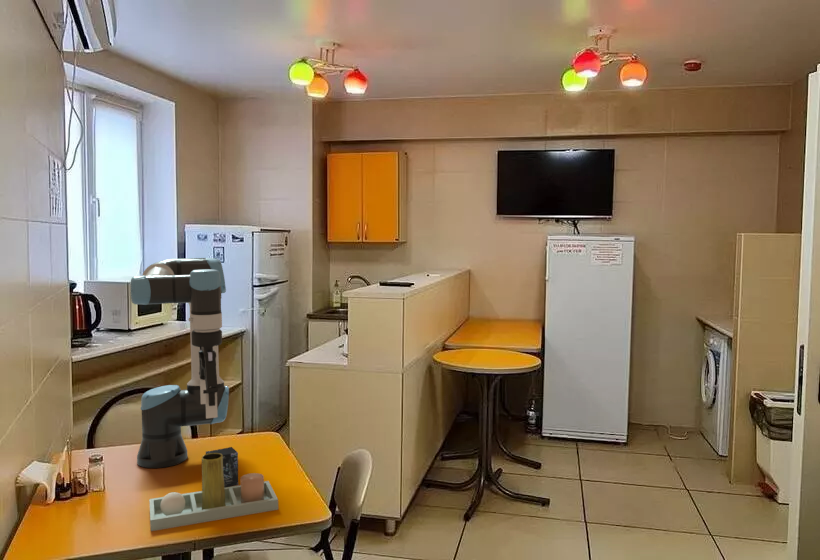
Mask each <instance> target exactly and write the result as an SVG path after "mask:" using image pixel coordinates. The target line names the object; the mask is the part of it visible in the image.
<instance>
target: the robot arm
mask: <svg viewBox="0 0 820 560" xmlns="http://www.w3.org/2000/svg"><path fill="white" fill-rule="evenodd" d="M226 288H227V287H226V280H225V274H224V269H223V264H222V262H221V260H220V259H218V258H212V257H194V258H193V257H189V258H168V259H162V260H160V261H156V262H154V263H152V264H149V266H147V267H146V268H145V270H144V271H143V272H142V275H136V276H133V277H131V279H130V300H131V303H132V304H133V305H144V306H147V305H161V304H162V305H164V304H188V305H189V317H188V322H189V330H190V335H189V336H190V366H191V379H190V380H189V381H188V382H187V383H186V389H181V387H180V386H179V384H178V385H177V384H168V385H167V384H166V385H162V386H157V387H154V388H151V389H149V390H147V391H144V393H143V394H142V396H141V399H140V401H141V403H140V410H141V434H142V436H141V441H140V444H139V448H138V453H137V454H136V463H137V465H138V466H140V467H142V468H145V469H146V468H147V469H161V468H167V467H172V466H176V465H179V464H182V463H183V462H184V461H186V460H187V459H188V447H187V445H186V443H185V440H184V438H183V435H182V427H190V426H199V425H208V424H209V425H214V424H217V423H222V422H224V421H225V420H226V418H227V415H228V407H229V397H230V389H229V388H230V387H229V386H227V385H225V380H223V378H222V377H221V376H220V366H219V365H220V363H219V362H220V360H219V359H220V356H219V346H220V345H222V344H223V331H222V330H221V328H222V327H223V314H222V294H225V293H226V291H227V289H226Z"/></svg>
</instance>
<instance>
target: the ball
mask: <svg viewBox="0 0 820 560" xmlns="http://www.w3.org/2000/svg"><path fill="white" fill-rule="evenodd" d="M181 494H182V493H180V492H177V491H176V492H175V491H173V492H169V493H167V494H166V495H164V496H163V497H164V498H163V499H162V501H161V505H160V507H161V511H162V512H163V514H164V515H166V516H168V515H174V514H180V513H182V511H183V510H184V508H185V499H184V497H183V496H182V495H181Z"/></svg>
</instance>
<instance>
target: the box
mask: <svg viewBox="0 0 820 560" xmlns="http://www.w3.org/2000/svg"><path fill="white" fill-rule="evenodd" d="M209 453H220V454H222V455H223V476H224V488H225V487H231V486H238V485H239V457H238V456H239V452H238V451H237V450H236V449H235V448H234V447H232V446H229V447H225V448H218V449H215V450H214V449H213V450H207V451H205V454H209Z"/></svg>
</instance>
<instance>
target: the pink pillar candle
mask: <svg viewBox="0 0 820 560" xmlns="http://www.w3.org/2000/svg"><path fill="white" fill-rule="evenodd" d="M264 479H265V477H264V475H263V474H262V473H256V472H253V473H247V474H243V475H242V476H240V485H241V503H247V502H253V501H259V500H264V481H265V480H264Z"/></svg>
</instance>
